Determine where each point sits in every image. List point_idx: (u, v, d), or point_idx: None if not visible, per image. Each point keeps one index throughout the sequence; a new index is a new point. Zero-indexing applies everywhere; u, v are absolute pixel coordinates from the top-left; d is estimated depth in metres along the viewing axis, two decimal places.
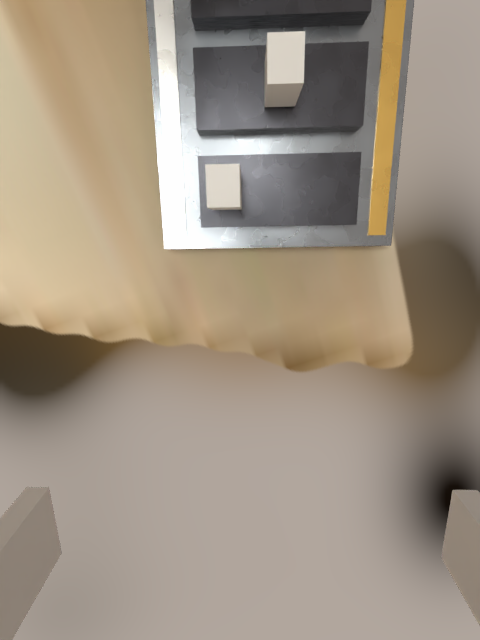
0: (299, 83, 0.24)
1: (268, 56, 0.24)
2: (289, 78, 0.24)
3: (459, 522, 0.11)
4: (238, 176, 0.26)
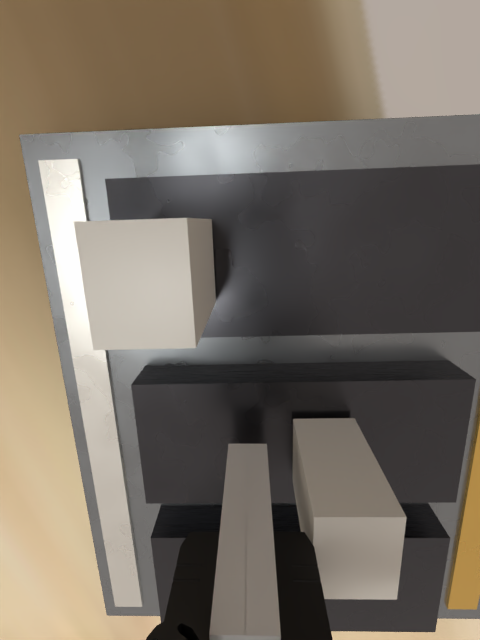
0: None
1: None
2: (362, 591, 0.10)
3: None
4: None
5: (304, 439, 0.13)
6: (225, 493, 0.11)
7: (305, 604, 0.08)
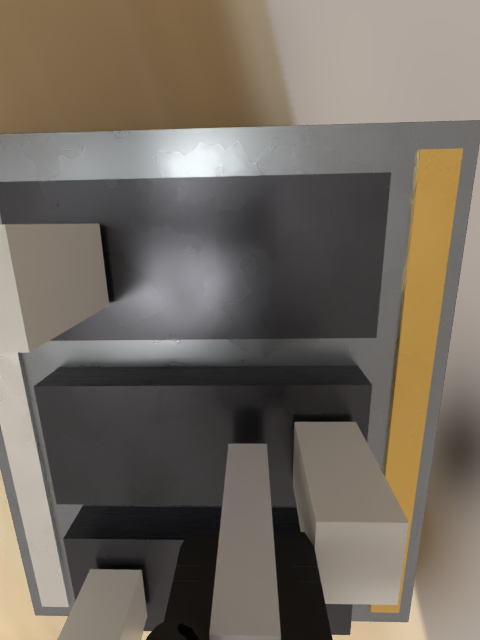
0: (386, 600, 0.10)
1: None
2: (363, 596, 0.10)
3: None
4: None
5: (306, 442, 0.13)
6: (225, 493, 0.11)
7: (305, 604, 0.08)
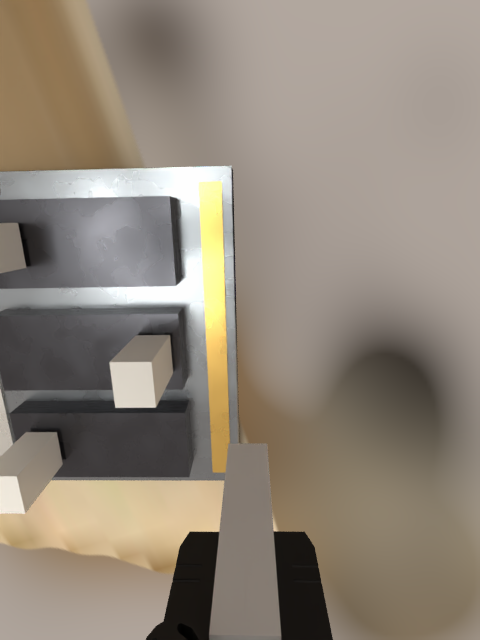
0: (151, 406, 0.21)
1: (113, 383, 0.21)
2: (138, 403, 0.21)
3: None
4: (17, 487, 0.23)
5: (132, 341, 0.24)
6: (225, 493, 0.11)
7: (305, 604, 0.08)
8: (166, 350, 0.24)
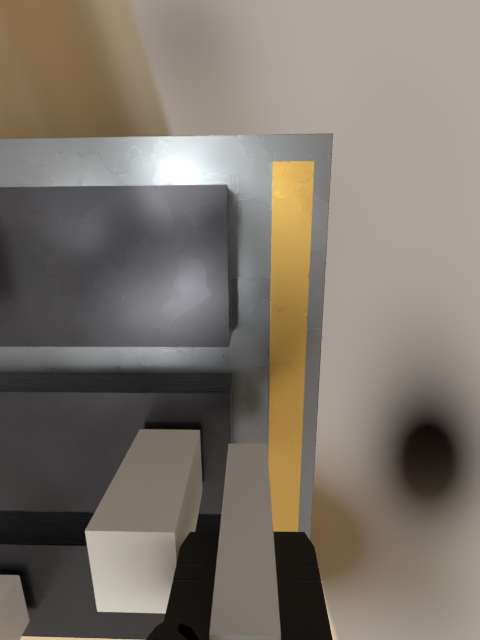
0: None
1: (93, 568, 0.10)
2: (145, 605, 0.10)
3: None
4: None
5: (135, 450, 0.13)
6: (225, 493, 0.11)
7: (305, 604, 0.08)
8: (195, 465, 0.13)
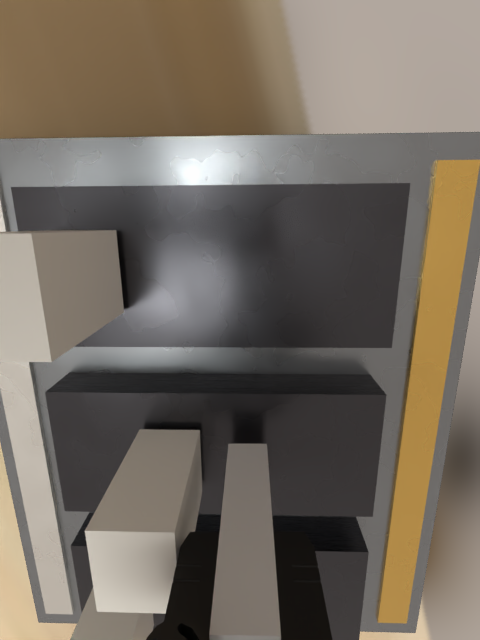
0: None
1: (93, 568, 0.10)
2: (145, 605, 0.10)
3: None
4: None
5: (135, 450, 0.13)
6: (225, 493, 0.11)
7: (305, 604, 0.08)
8: (195, 466, 0.13)
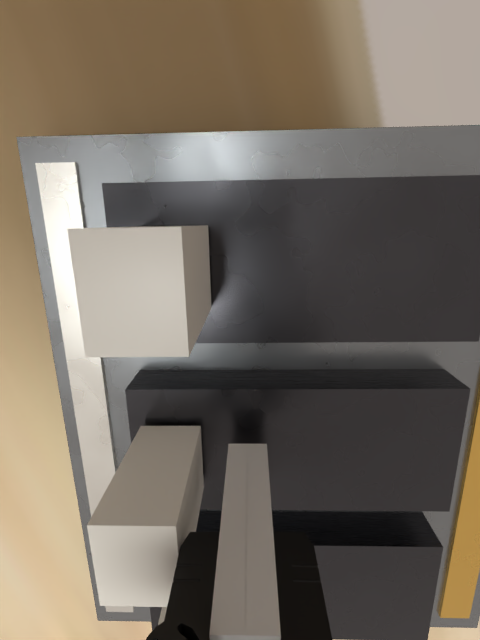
0: None
1: (96, 562, 0.10)
2: (147, 599, 0.10)
3: None
4: None
5: (136, 446, 0.13)
6: (225, 493, 0.11)
7: (305, 604, 0.08)
8: (196, 461, 0.13)
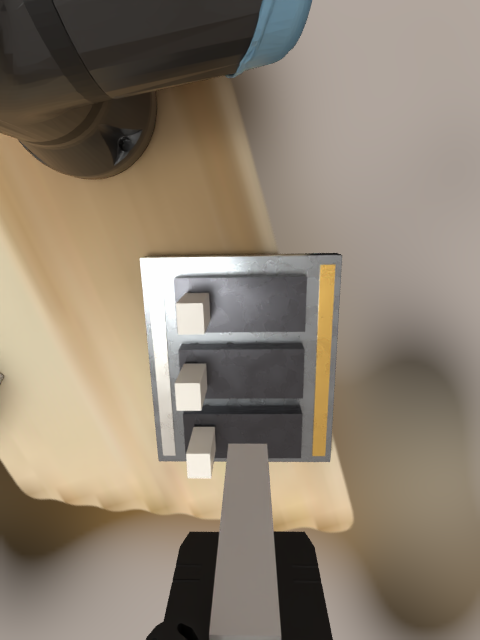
0: (198, 410, 0.35)
1: (176, 395, 0.35)
2: (191, 407, 0.35)
3: None
4: (209, 461, 0.37)
5: (183, 368, 0.38)
6: (225, 493, 0.11)
7: (305, 604, 0.08)
8: (204, 374, 0.38)
